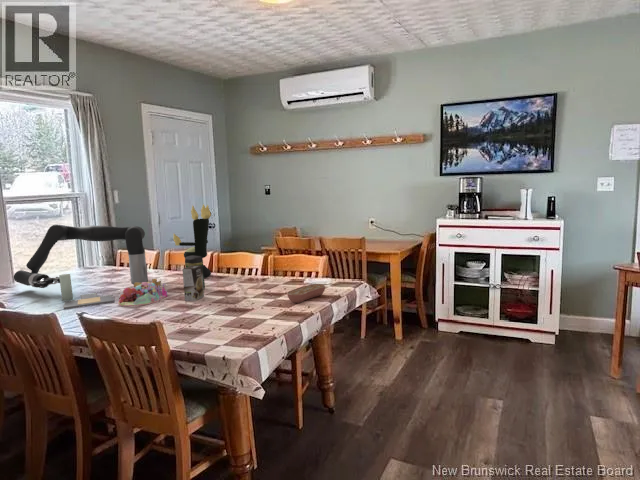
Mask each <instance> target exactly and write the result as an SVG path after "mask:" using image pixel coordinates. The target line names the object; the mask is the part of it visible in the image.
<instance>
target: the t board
mask: <svg viewBox="0 0 640 480" xmlns="http://www.w3.org/2000/svg"><path fill="white" fill-rule="evenodd" d="M112 303H115V299H114V296H113V294H109V295H101V296H98V292H95V293H87V294H80V298H79V299H74V300H73V299H72V300H67V301H64V303H63V307H62V308H63V310H69V309H76V308H77V309H78V308H84V307H83V306H85V307H90V305H92V306H97V305H104V304H112Z"/></svg>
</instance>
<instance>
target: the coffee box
mask: <svg viewBox="0 0 640 480" xmlns="http://www.w3.org/2000/svg"><path fill="white" fill-rule="evenodd" d="M182 279H183V293H184V301H186V302H197V301H198V300H200V299H202V298H204V297H205V288H204V287H203V274H202V266H189V267H186V266H185V267H184V268H182Z"/></svg>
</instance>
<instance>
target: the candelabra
mask: <svg viewBox="0 0 640 480" xmlns="http://www.w3.org/2000/svg"><path fill="white" fill-rule="evenodd" d="M209 207H210V205H209V204H207V205H206V206H205V204H204V203H203V204H202V206H201V209H200V212H201V213H200V216H201V218H199V214H198V212H197V211H196V208H195V207H194V205H192V206H191V210H190V213H191V219H192V220H193V221H192V229H193V237H194V239H193V240H194V242H191V241H190V242H187V241H185V242H184V241H183V242H182V241H181V238H180V237H179V236H178V235H176V234H175V233H173V241H174V243H175V246H176V247H177V246H182V247H189V248H188V249H186V251H184V253H183V257H184V259H185V258H186V256H192V255H194V256H201V257H202V258H203V259H204V258H206V257H207V256H208V250H207V249H208V248H207V246H208V243H209V241H208V235H209V234H208V233H209V226H210V218H211V216H212V213H211V210H210V208H209ZM211 274H212V272H211V270H210V269H209V268H208V266H205V264H203V275H204V279H205V278H209V277H210V276H211Z"/></svg>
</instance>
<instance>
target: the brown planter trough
mask: <svg viewBox="0 0 640 480" xmlns="http://www.w3.org/2000/svg"><path fill="white" fill-rule="evenodd" d="M325 290H326V285H325V284H321V283H320V284H319V283H315V284H308V285H303V286H300V287H297V288H294V289H292V290H289V291H287V293H286V294H287V298H288V300H289V301H290V302H292V303H294V304H299V303H302V302H304V301H307V300H310V299H313V298H316V297H320V296H321V295H323V294H324V292H325Z"/></svg>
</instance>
